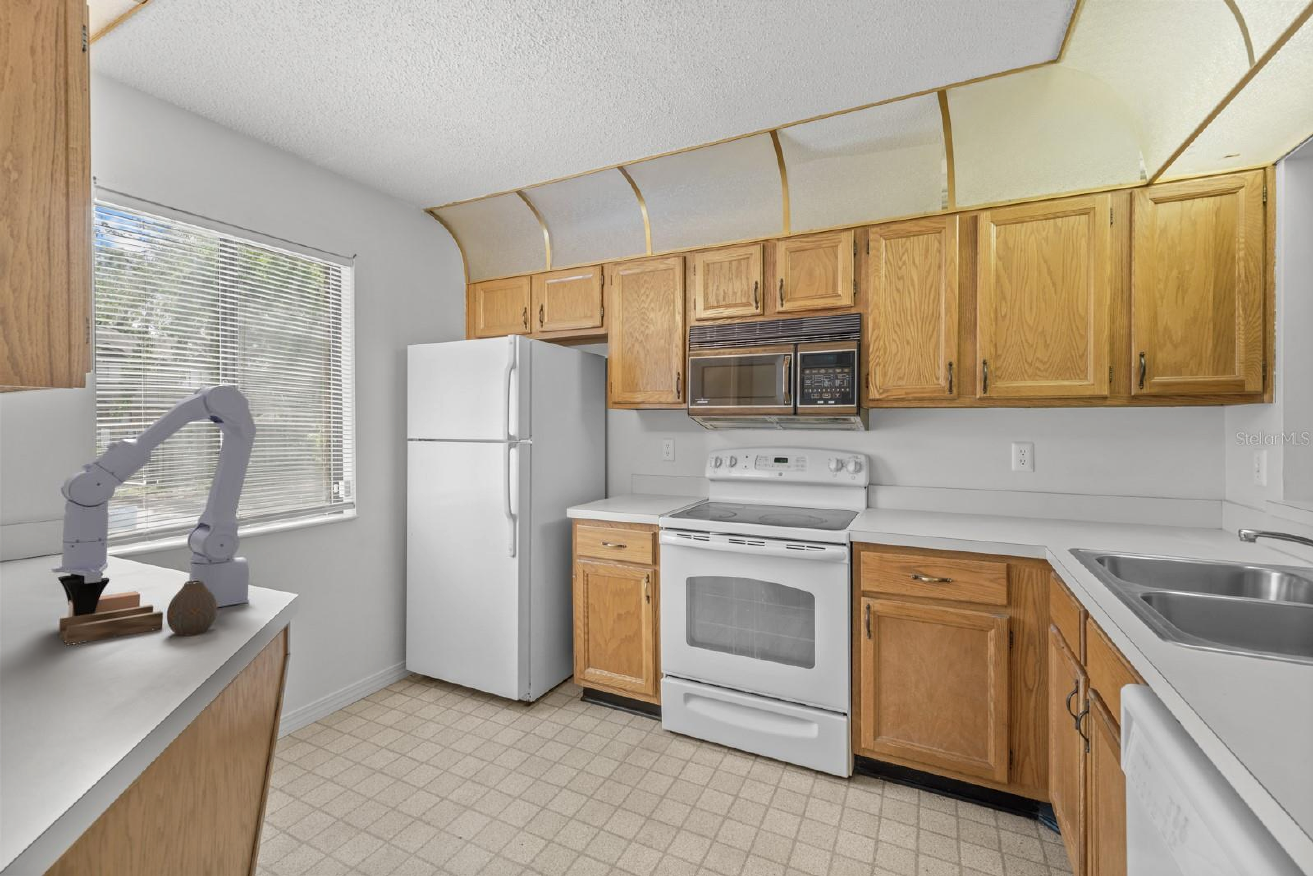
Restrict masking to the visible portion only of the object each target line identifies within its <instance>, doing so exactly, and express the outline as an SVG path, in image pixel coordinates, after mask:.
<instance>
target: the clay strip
mask: <svg viewBox="0 0 1313 876" xmlns="http://www.w3.org/2000/svg"><path fill="white" fill-rule="evenodd" d="M140 603H141V593H139V592H138V591H128V592H120V593H113V594H105V595H101V596H100V598H99V601H98V604H97V607H96V611H95V613H101V612H107V611H114V610H120V609H127V608H134V607H140V605H141V604H140ZM68 617H74V611H73V604H72V600H69V605H68V616H67V618H68Z"/></svg>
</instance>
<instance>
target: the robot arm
mask: <svg viewBox="0 0 1313 876" xmlns="http://www.w3.org/2000/svg"><path fill="white" fill-rule="evenodd" d="M202 420H209V421H210V422H213V423H214V425H215V426H216V427H217V428H218V429H219V430H220V431H221V433H222V434H223V439H222V444H221V447H220V450H219V451H220V452H219V454H218V458H217V463H216V466H215V471H214V473H213V474H214V475H213V479H212V482H211V485H210V490H209V494H208V498H207V502H206V505H205V508H204V511H203V513H201V515H200V516H199V518H198V519H197V524H196V526H195V527H194V529H193V530H191V532H190V533H189V535H188V537H187V542H186V543H187V547H188V549H189V550H190V551H191V552H192V553H193V554H192V556H191V558H189V559H190V560H189V579H188V581H192V580H201V581H203V583H204V585H205V586H206V588H207V589H209V590H210V592H211V593H212V594H213V595H214V597H215V599H216V602H217V608H221V607H227V606H233V605H239V604H243V603H244V604H245V603H249V602H250V599H248V598H249V578H250V570H249V569H250V568H249V563H248V560H247V559H246V557H244V556H243V557H241V556H240V557H235V554H236V553H237V552H238V550H239V548H240V543H241V542H240V539H239V535H238V531H239V521H238V517H237V511H238V506H239V503H240V498H241V494H242V489H243V487H244V482H245V478H246V474H247V470H248V466H249V461H250V457H251V454H252V449H253V446H254V441H255V438H256V433H257V427H256V425H255V422H254V419H253V416H252V413H251V411H250V408H249V399H247V398H246V396H244V394H243V393H242V392H241V391H240V390H239V389H238V388H236V387H235V386H232V385H228V384H218V385H214V386H211V385H206V386H205V385H204V386H202V387H200V388H198V389H196V390H195V391H194V393H193V394H189V395H187V396H185V397H184V398H183V399H181V400H180V401H178V402H177V403H175V404H174V405H173V406H172V407H171V408H170V409H168V411H166V412H165V413H164V414H162V415H161V416H160V417H159V418H158V419H156V420H155V421H154V422H153V423H152V424H151V425H149V426H148V427H147V428H146V429H145V430H143V431H142V432H141V433H140V434H139V435H138V436H137V437H135V438H133V439H132V438H130V439H129V438H125V439H120V440H118V441H117V442H115V441H111V442H109V443H108V444H107V445H105V447H106V449H107V450H106V451H104V452H103V453H102V454H101V455H99V456H98V457H97V458H95V459H94V460H93V461H91V462H90V463H88V462H85V463H84V464H83V465H82V466H81V469H83V470H84V471H80V472H76V473H73V474H72V475H70V476H69V477H68V478H66V479H65V481H64V482H63V483H64V484H63V485H62V486H61V487H60V491H61V494H62V496H63V498H65V499H66V500H65V505H64V510H65V513H64V515H63V533H62V551H61V553H62V554H61V556H62V557H61V565H60V566H53V567H51V572H52V573H53V574H54V573H57V574H58V573H63V574H69V575H61V576H58V577H57V579H58V581H59V582H60V584H61V585H62V587H63V589H64V592H65V595H66V600H67V604H68V606H69V600H72V604H73V611H74V616H81V615H87V614H94V613H95V611H96V607H97V604H98V601H99V598H100V596H102V595H103V594H102V593H103V592H104V589H106V587H107V585H108V584H109V583H110V577H103V575H104V573H103V572H104V571H105V570H107V569H108V566H109V562H107V561H108V560H107V559H108V555H107V554H108V538H109V537H108V535H109V517H110V514H109V512H108V510H109V500H110V499H112V498H113V496H114V494H115V491H116V487H119V486H122V484H124V483H125V482H126V481H128V480H129V479H130V478H131V477H132V476H134V475H135V474H136V473H138V472H139V471H140V470H142V468H143V467H145V466H146V465H147V464H149V463H150V462H151V460H152V456H151V455H152V451H153V450H154V449H155V448H157V447H158V446H160V445H161V444H163V442H165V441H166V440H167V439H169V438H170V437H171V436H173V435H174V434H175V433H177V432H178V431H180V430H181V429H182V428H184V427H185V426H186V425H187V424H189V423H192V422H196V421H202Z"/></svg>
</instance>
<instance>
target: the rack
mask: <svg viewBox="0 0 1313 876" xmlns="http://www.w3.org/2000/svg"><path fill="white" fill-rule="evenodd" d="M163 616H164V612H163V611H161V610H160V611H154V605H153V604H149V605H147V604H146V605H143V606H140V607H134V608H127V609H120V610H114V611H107V612H101V613H94V614H87V615H81V616H74V617H68V616H67V617H62V618H59V623H58V624H59V625H58V626H59V628H58V636H59V637H60V636H61V637H60V638H61V640H62V641H63V640H64V641H66V643H67V644H72V645H74V644H73V643H77V644H80V643H79V642H83V643H85V642H84V641H89V642H93V640H94V641H99V639H100V640H105V639H110V638H109V637H111V638H114V637H113V636H117V637H122V636H127V634H128V635H132V633H133V634H138V633H137V632H139V633H144V632H148V630H150V631H153V630H152V629H156V630H160V629H159V628H162V629H163V624H164V623H163V621H164V619H163V618H164V617H163ZM104 638H105V639H104ZM64 641H63V642H64ZM66 643H65V644H66ZM67 644H66V645H67Z"/></svg>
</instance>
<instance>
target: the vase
mask: <svg viewBox="0 0 1313 876" xmlns="http://www.w3.org/2000/svg"><path fill="white" fill-rule="evenodd" d="M217 612H218V607H217V602H216V599H215V597H214V595H213V594H212V593H211V592H210V590H209V589H207V588H206V586H205V585H204V583H203V581H201V580H192V581H189V580H188V581H185V582H184V584H183V585H182V587H181V589H180V590H179V591H178V592H177V593H176V594H175V595H174V596H173V598H172V599H171V600H170V602H169V605H168V606H167V612H166V621H167V624H168V627H169V629H170V630H171V631H172V632H173V633H174V634H176V635H178V636H193V635H199V634H203V633H204V632H206V631H208V629H209V628H211V626H212V625H213V623H214V622H215V620H216V617H217V614H218V613H217Z"/></svg>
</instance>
